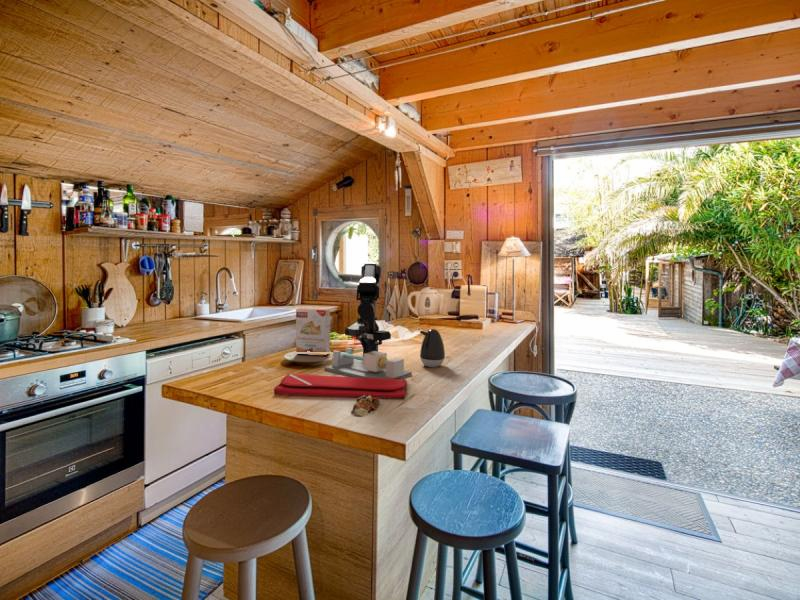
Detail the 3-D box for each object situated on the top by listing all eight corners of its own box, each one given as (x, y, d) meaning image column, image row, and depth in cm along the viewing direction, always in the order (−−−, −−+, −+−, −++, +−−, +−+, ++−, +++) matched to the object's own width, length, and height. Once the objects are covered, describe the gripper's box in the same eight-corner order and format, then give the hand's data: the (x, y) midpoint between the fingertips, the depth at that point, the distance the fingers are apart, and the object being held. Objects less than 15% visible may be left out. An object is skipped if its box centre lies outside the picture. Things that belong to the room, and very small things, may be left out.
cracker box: (295, 355, 185) (295, 308, 183) (301, 352, 191) (300, 307, 189) (325, 356, 183) (325, 309, 181) (330, 354, 189) (330, 308, 187)
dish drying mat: (404, 400, 127) (404, 388, 127) (273, 396, 129) (273, 384, 129) (406, 385, 143) (406, 374, 142) (289, 382, 145) (289, 371, 145)
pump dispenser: (420, 362, 176) (421, 326, 174) (445, 363, 174) (446, 327, 173) (418, 368, 166) (418, 330, 164) (444, 369, 164) (445, 331, 163)
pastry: (348, 417, 113) (348, 404, 113) (358, 402, 125) (358, 391, 125) (373, 418, 112) (373, 405, 112) (380, 404, 124) (381, 392, 124)
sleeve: (374, 366, 160) (374, 350, 159) (386, 368, 156) (386, 353, 155) (363, 369, 155) (364, 353, 154) (376, 372, 151) (376, 355, 151)
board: (353, 362, 173) (353, 346, 173) (411, 375, 155) (411, 356, 155) (324, 370, 161) (324, 352, 160) (384, 384, 143) (384, 364, 142)
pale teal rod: (342, 357, 168) (342, 348, 168) (398, 369, 151) (398, 358, 151) (335, 359, 165) (335, 349, 165) (391, 371, 148) (391, 360, 148)
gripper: (334, 314, 155) (334, 355, 157) (371, 319, 144) (371, 363, 145) (355, 312, 164) (354, 351, 166) (391, 316, 153) (391, 358, 154)
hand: (367, 355), depth 157 cm, fingers closed
